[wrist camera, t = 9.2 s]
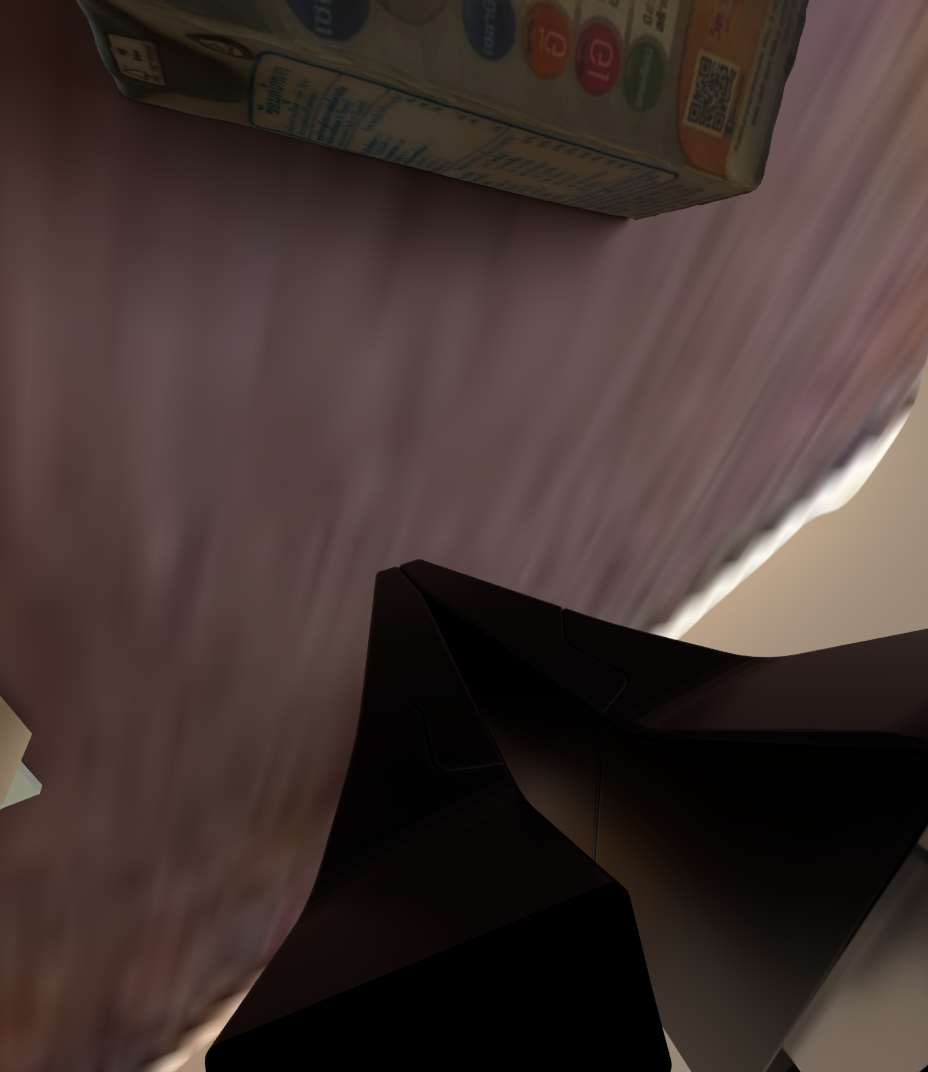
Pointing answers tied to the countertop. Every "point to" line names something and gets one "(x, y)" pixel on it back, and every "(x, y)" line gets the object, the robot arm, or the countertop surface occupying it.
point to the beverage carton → (484, 85)
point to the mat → (22, 786)
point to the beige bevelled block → (10, 746)
